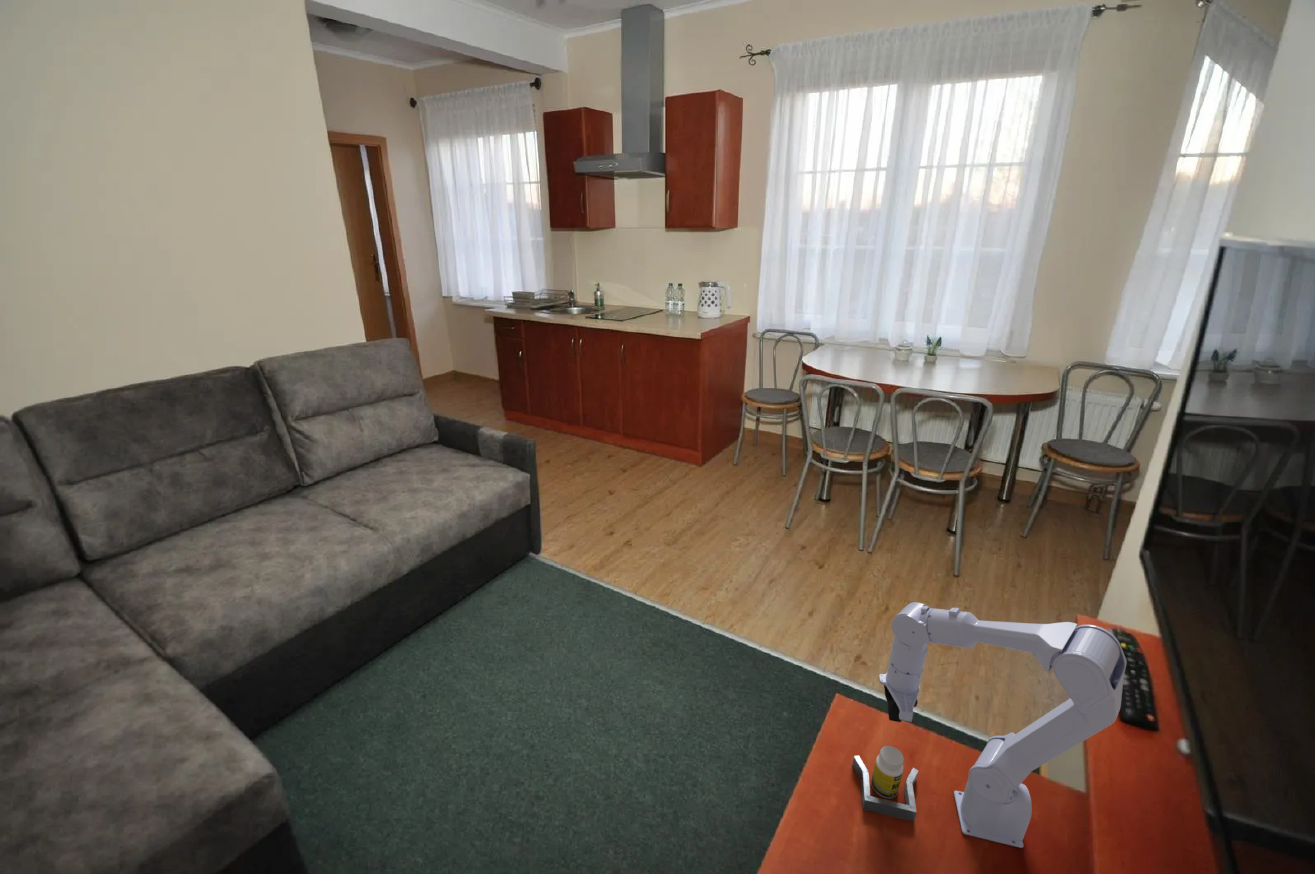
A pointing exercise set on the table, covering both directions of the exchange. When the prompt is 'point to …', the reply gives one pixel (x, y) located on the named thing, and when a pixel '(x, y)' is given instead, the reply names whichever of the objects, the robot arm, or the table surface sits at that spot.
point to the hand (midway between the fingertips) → (894, 718)
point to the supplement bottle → (887, 772)
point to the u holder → (883, 805)
